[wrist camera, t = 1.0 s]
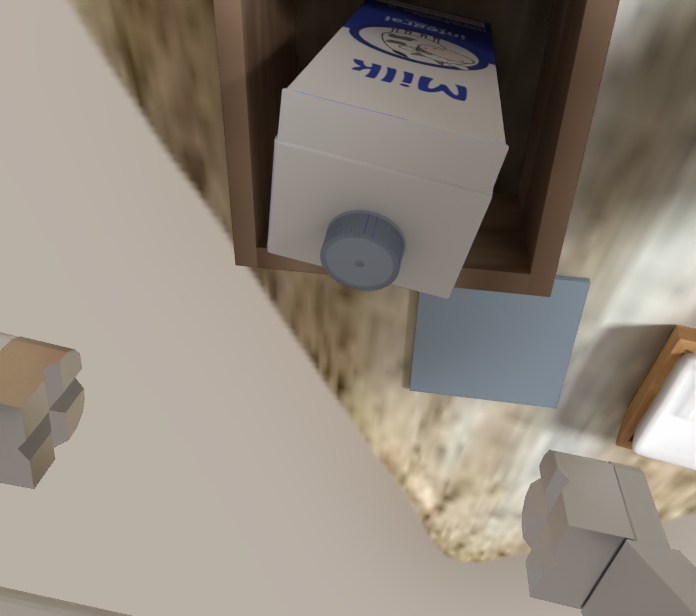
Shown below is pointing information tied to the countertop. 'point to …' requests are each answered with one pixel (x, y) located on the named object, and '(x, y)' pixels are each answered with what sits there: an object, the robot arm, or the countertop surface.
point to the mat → (497, 343)
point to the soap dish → (666, 405)
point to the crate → (505, 208)
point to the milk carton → (389, 149)
